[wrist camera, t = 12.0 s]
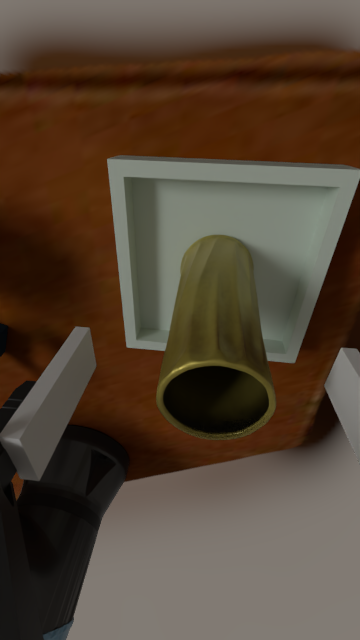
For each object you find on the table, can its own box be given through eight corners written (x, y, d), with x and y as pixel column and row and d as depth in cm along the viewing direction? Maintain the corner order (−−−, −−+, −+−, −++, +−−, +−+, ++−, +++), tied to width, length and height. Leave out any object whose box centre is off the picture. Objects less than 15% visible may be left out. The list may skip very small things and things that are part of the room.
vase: (265, 246, 22) (317, 378, 11) (236, 308, 26) (251, 458, 14) (192, 223, 22) (163, 333, 10) (173, 289, 25) (134, 427, 14)
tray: (287, 343, 29) (294, 363, 26) (134, 329, 30) (126, 347, 27) (344, 164, 20) (362, 169, 17) (120, 155, 21) (107, 158, 18)
